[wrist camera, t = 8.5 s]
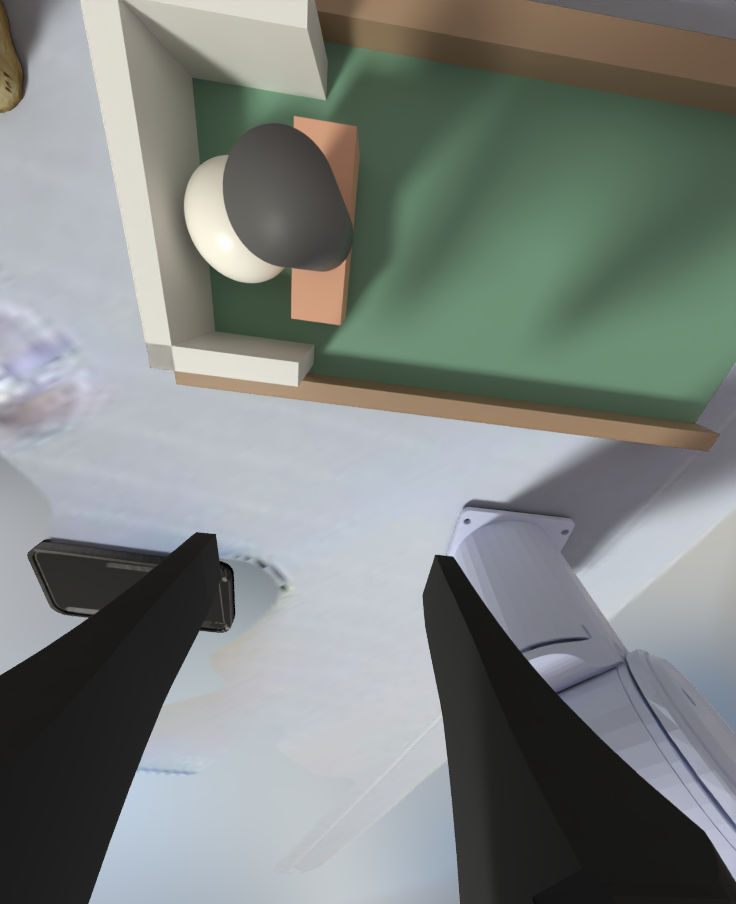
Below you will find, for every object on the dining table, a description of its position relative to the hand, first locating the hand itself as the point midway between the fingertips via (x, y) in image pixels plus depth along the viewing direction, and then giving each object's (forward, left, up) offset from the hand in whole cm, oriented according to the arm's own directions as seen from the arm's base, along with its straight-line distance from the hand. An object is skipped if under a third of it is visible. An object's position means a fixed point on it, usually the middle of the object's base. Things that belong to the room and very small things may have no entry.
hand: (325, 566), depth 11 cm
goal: (+10, +5, -9) cm, 14 cm away
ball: (+10, +5, -7) cm, 13 cm away
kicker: (+10, +2, -9) cm, 14 cm away
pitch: (+10, -5, -10) cm, 15 cm away
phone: (-16, +16, -11) cm, 25 cm away
